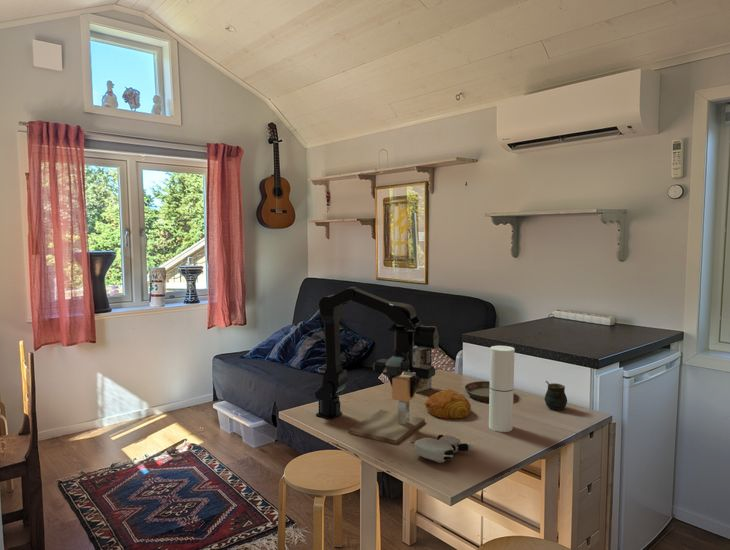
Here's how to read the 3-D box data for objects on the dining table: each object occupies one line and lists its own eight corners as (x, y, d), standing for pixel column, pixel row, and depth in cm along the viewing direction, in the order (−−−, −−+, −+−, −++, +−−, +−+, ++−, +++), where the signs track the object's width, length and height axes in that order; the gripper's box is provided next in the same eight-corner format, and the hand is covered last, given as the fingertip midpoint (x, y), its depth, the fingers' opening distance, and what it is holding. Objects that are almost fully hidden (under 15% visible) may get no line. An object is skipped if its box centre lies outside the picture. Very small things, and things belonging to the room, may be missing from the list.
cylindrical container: (496, 433, 161) (497, 351, 158) (484, 424, 168) (486, 346, 165) (517, 430, 163) (519, 350, 160) (504, 422, 169) (506, 345, 167)
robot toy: (440, 444, 155) (405, 455, 144) (441, 429, 155) (406, 439, 144) (475, 457, 146) (441, 470, 135) (476, 441, 146) (442, 453, 135)
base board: (348, 433, 160) (348, 429, 160) (380, 413, 177) (380, 409, 177) (395, 444, 152) (395, 440, 152) (424, 422, 169) (424, 418, 169)
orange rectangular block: (392, 399, 164) (392, 378, 163) (399, 394, 168) (400, 374, 167) (407, 402, 161) (407, 380, 160) (414, 397, 165) (415, 376, 165)
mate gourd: (571, 410, 181) (572, 381, 180) (554, 413, 178) (554, 384, 177) (556, 403, 187) (557, 375, 186) (539, 406, 185) (540, 378, 184)
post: (397, 423, 165) (398, 401, 164) (401, 421, 167) (401, 399, 166) (405, 425, 164) (405, 403, 163) (409, 422, 166) (409, 400, 165)
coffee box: (419, 384, 210) (420, 344, 208) (431, 388, 205) (432, 347, 204) (403, 389, 204) (403, 347, 203) (415, 393, 199) (415, 350, 198)
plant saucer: (491, 407, 184) (491, 398, 184) (454, 394, 198) (454, 386, 198) (523, 397, 195) (523, 389, 194) (486, 386, 209) (486, 378, 209)
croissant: (457, 409, 188) (457, 386, 189) (477, 418, 173) (476, 393, 173) (418, 411, 185) (418, 388, 185) (435, 421, 169) (435, 395, 170)
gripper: (364, 347, 161) (364, 397, 162) (420, 355, 151) (420, 408, 153) (382, 340, 170) (381, 388, 172) (436, 347, 161) (435, 398, 162)
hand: (403, 395), depth 164 cm, fingers closed on orange rectangular block, 5 cm apart
